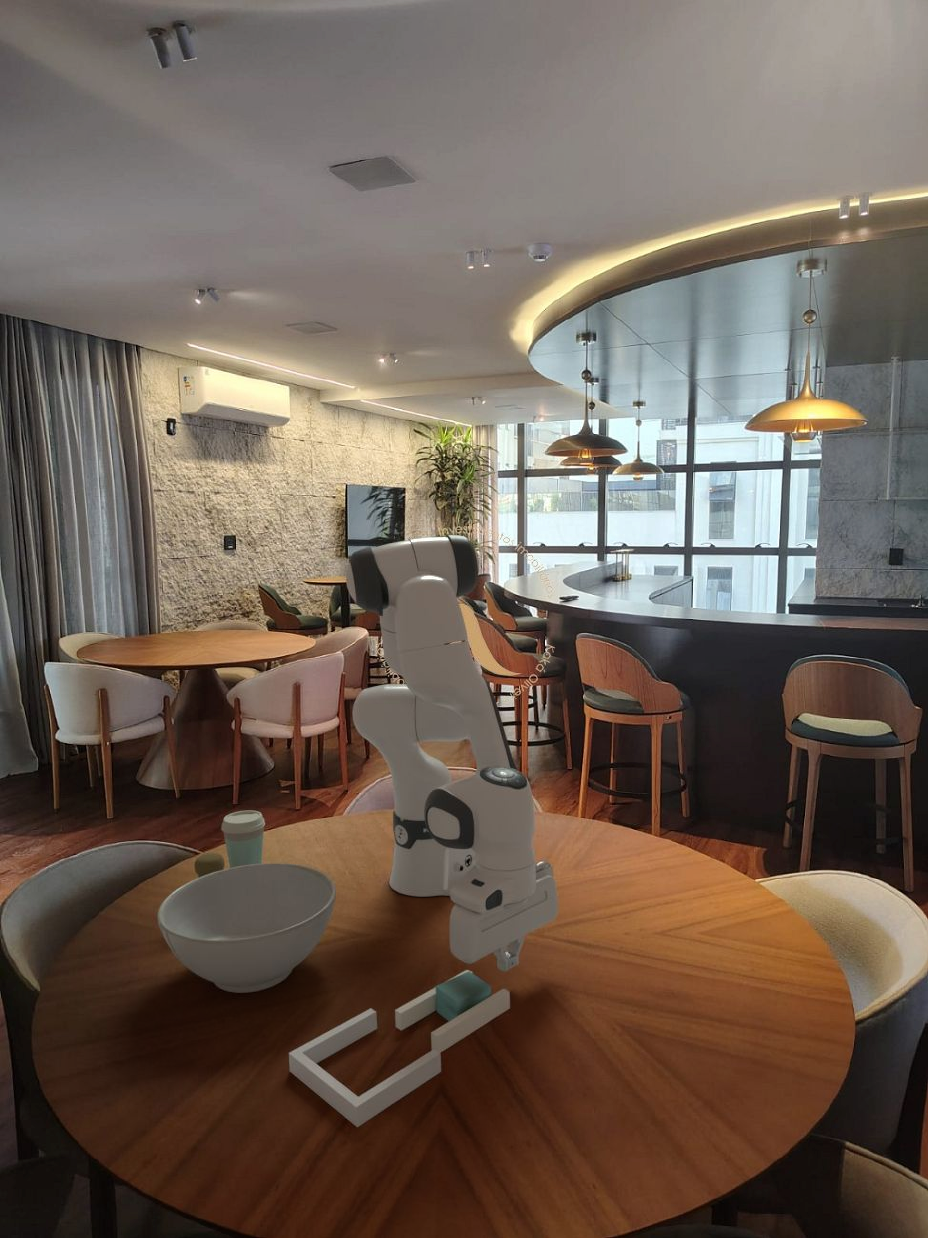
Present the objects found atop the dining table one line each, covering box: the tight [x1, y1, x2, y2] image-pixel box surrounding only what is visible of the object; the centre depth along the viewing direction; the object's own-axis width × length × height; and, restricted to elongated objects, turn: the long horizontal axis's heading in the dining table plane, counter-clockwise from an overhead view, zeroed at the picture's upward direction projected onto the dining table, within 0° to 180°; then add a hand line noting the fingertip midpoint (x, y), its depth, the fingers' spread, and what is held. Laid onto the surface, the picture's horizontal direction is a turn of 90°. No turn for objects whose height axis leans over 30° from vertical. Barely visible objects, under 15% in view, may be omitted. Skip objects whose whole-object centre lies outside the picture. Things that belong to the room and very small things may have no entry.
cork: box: [194, 852, 226, 878], centre depth 147 cm, size 6×6×11 cm
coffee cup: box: [220, 809, 266, 868], centre depth 164 cm, size 8×9×12 cm
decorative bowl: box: [157, 862, 337, 994], centre depth 127 cm, size 27×27×12 cm
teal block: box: [435, 971, 492, 1022], centre depth 115 cm, size 6×5×4 cm
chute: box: [394, 969, 511, 1053], centre depth 114 cm, size 14×9×2 cm, turn 134°
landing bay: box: [288, 1007, 442, 1128], centre depth 103 cm, size 13×14×2 cm
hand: (508, 967), depth 121 cm, fingers closed
